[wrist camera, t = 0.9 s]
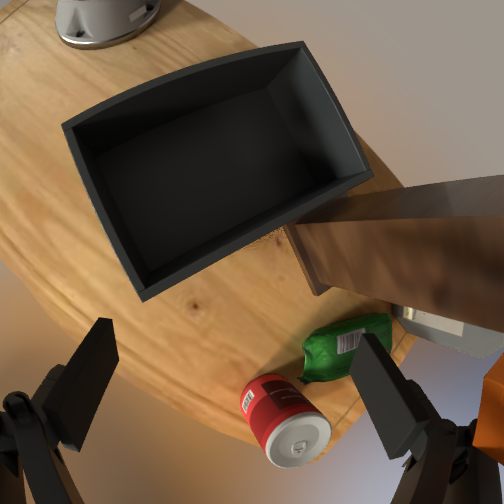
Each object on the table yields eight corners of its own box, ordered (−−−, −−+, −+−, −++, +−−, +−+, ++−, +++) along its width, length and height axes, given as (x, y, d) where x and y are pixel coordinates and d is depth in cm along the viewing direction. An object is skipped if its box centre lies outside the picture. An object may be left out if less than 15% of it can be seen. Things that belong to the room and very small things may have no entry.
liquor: (432, 295, 45) (578, 325, 17) (407, 336, 44) (557, 390, 15) (412, 262, 43) (582, 282, 14) (384, 307, 41) (564, 358, 13)
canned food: (248, 428, 36) (278, 478, 25) (229, 386, 35) (257, 436, 24) (297, 405, 38) (337, 447, 27) (283, 363, 37) (326, 402, 26)
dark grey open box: (89, 157, 28) (60, 124, 18) (265, 84, 34) (303, 40, 23) (147, 280, 31) (142, 303, 21) (318, 189, 37) (374, 176, 26)
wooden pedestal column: (277, 217, 35) (551, 191, 7) (338, 185, 38) (563, 143, 9) (313, 294, 37) (544, 375, 9) (367, 257, 40) (575, 283, 11)
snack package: (288, 328, 37) (307, 342, 32) (381, 305, 41) (404, 313, 36) (291, 376, 37) (308, 393, 32) (379, 347, 42) (401, 358, 37)
